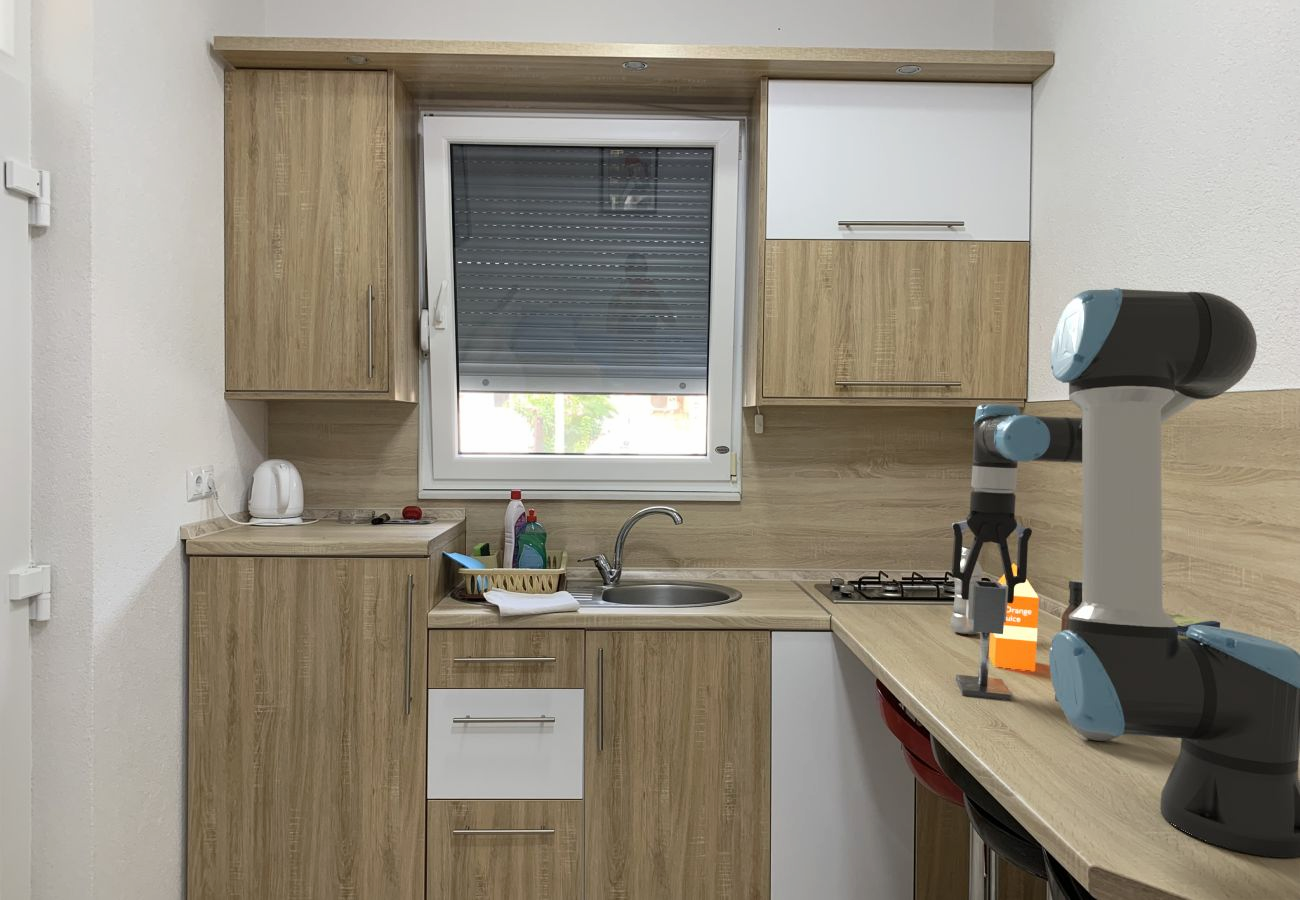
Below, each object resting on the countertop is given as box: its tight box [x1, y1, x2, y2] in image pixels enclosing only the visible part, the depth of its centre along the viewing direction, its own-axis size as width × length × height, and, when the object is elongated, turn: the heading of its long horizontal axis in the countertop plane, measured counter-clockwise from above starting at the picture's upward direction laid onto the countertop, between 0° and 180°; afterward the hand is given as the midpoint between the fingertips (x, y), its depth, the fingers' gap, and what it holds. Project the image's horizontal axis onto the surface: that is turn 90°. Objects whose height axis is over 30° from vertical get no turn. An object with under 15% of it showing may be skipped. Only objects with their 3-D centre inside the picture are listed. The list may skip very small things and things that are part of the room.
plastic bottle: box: [950, 546, 983, 635], centre depth 203 cm, size 6×7×20 cm
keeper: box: [955, 632, 1012, 701], centre depth 158 cm, size 10×8×12 cm
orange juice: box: [989, 562, 1040, 672], centre depth 177 cm, size 8×9×20 cm
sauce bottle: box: [1060, 579, 1082, 632], centre depth 162 cm, size 7×6×20 cm
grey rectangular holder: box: [968, 580, 1006, 634], centre depth 158 cm, size 7×5×8 cm
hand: (985, 619), depth 158 cm, fingers closed on grey rectangular holder, 5 cm apart
